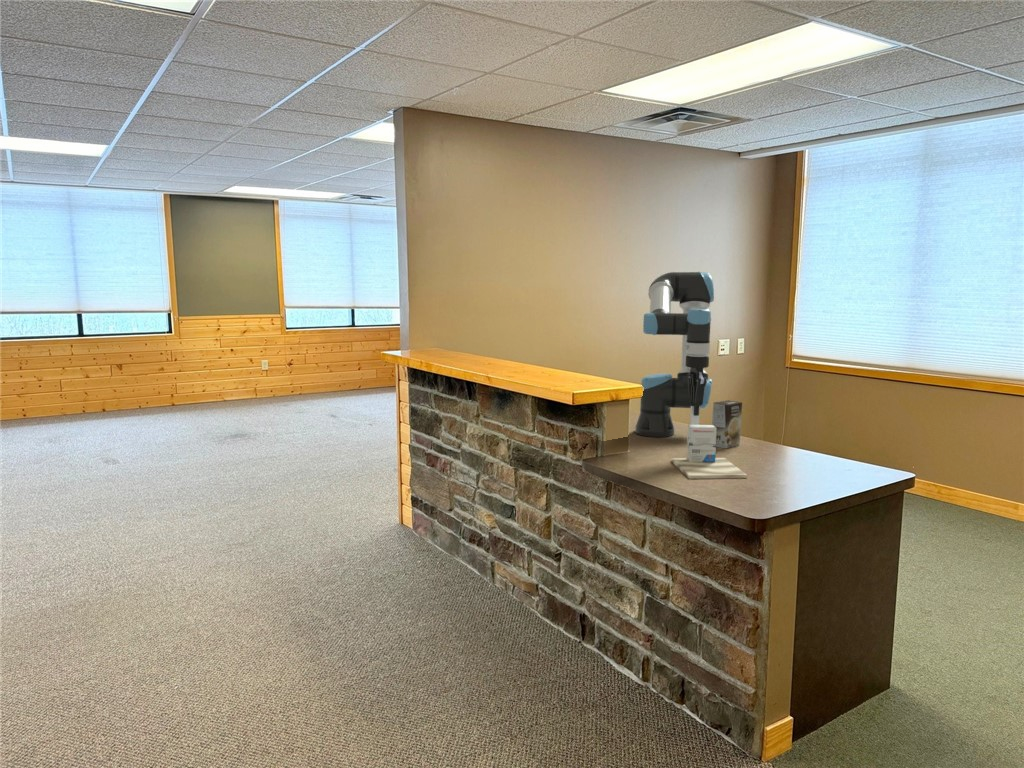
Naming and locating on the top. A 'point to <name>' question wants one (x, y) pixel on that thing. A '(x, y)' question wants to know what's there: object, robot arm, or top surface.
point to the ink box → (701, 443)
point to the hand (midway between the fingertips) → (694, 424)
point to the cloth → (708, 469)
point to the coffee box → (727, 423)
